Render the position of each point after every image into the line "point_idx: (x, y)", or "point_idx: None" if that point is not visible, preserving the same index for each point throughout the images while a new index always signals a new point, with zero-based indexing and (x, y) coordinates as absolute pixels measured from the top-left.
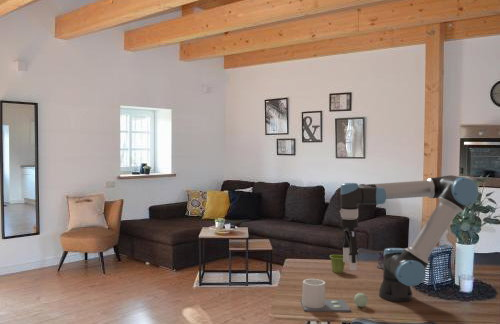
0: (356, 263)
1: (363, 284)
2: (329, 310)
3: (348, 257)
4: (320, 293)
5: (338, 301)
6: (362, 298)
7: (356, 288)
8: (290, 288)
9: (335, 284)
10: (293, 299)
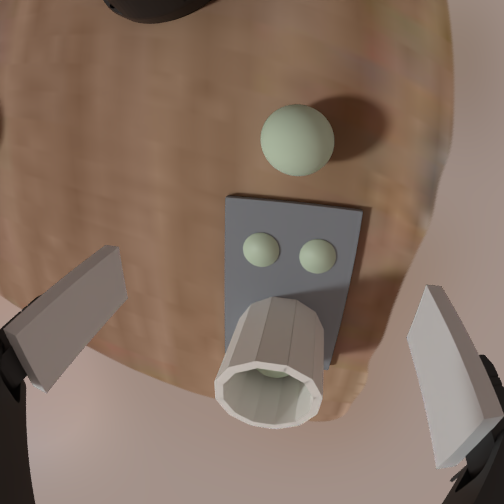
0: (466, 331)
1: (41, 77)
2: (346, 294)
3: (93, 279)
4: (319, 360)
5: (249, 230)
6: (330, 144)
7: (73, 106)
8: (111, 338)
9: (45, 181)
10: (212, 364)
